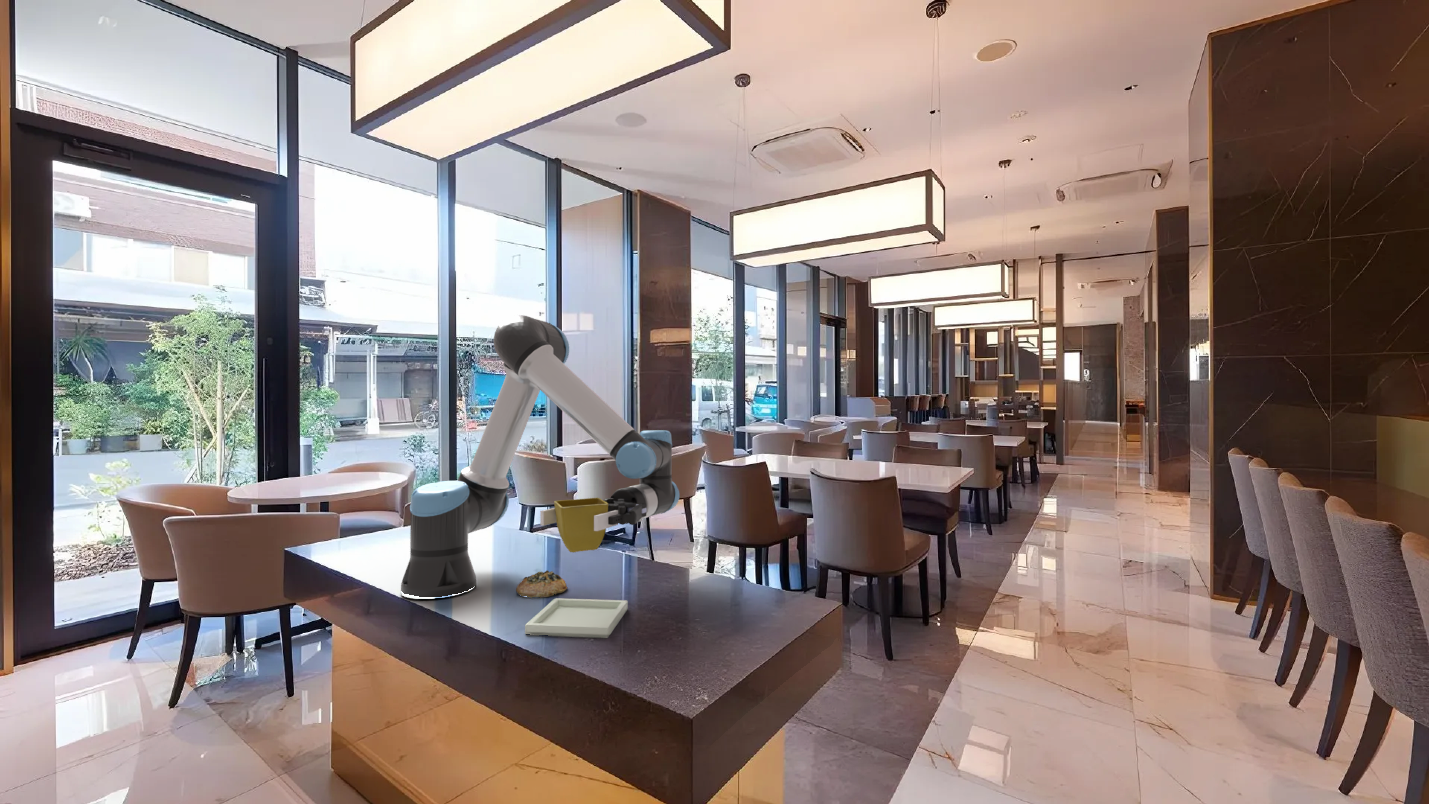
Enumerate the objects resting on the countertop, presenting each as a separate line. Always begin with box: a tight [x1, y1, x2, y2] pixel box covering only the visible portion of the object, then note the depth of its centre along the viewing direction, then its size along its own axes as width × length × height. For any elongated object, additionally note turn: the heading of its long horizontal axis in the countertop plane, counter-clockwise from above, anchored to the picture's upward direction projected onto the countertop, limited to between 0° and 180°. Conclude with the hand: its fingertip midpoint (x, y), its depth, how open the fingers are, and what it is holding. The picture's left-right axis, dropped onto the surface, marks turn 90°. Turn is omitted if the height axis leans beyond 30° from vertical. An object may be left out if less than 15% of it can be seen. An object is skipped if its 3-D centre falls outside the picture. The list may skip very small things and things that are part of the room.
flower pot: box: [553, 497, 608, 553], centre depth 113 cm, size 9×9×9 cm
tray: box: [524, 597, 629, 639], centre depth 113 cm, size 15×15×2 cm
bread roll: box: [515, 569, 568, 598], centre depth 132 cm, size 11×11×5 cm
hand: (568, 520), depth 110 cm, fingers closed on flower pot, 12 cm apart
